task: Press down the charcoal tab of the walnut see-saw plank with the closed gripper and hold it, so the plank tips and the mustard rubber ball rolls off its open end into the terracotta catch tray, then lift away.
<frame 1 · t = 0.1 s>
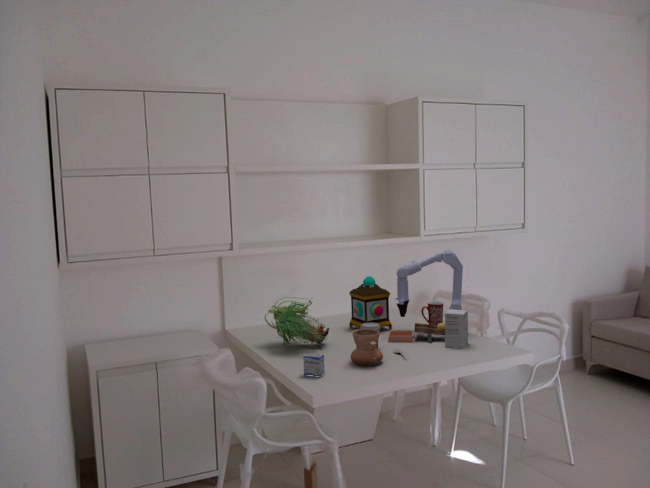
hand: (403, 315, 298), 10 cm above the table, tool pointing down, fingers open, 7 cm apart
mug: (432, 327, 312), on the table
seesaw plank: (430, 328, 288), point 5 cm above the table, hinge at -6.0°, touching ball
decorative lantern: (370, 329, 311), on the table
disposable coffee cup: (371, 349, 272), on the table
plant: (302, 349, 277), on the table
spoon: (403, 358, 257), on the table
supplement box: (456, 345, 273), on the table
ceramic jug: (366, 363, 250), on the table
seesaw stand: (429, 339, 286), on the table
catch tray: (401, 339, 288), on the table
ball: (441, 327, 284), point 6 cm above the table, tilted 6°, touching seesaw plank
medicine box: (314, 375, 235), on the table
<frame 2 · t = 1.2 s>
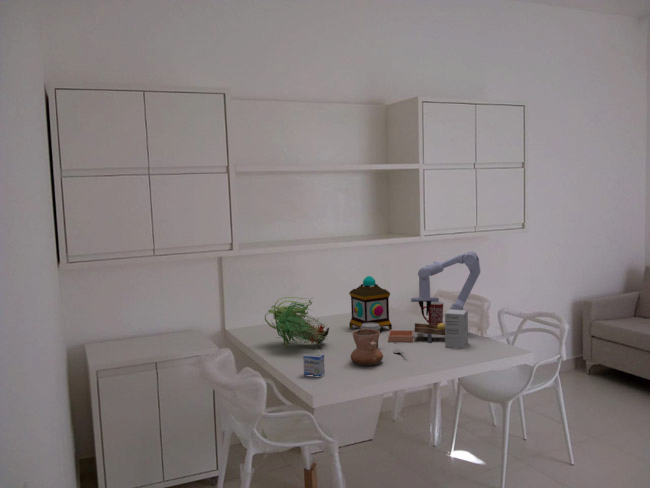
hand: (425, 315, 299), 9 cm above the table, tool pointing down, fingers closed
nothing on the table moved.
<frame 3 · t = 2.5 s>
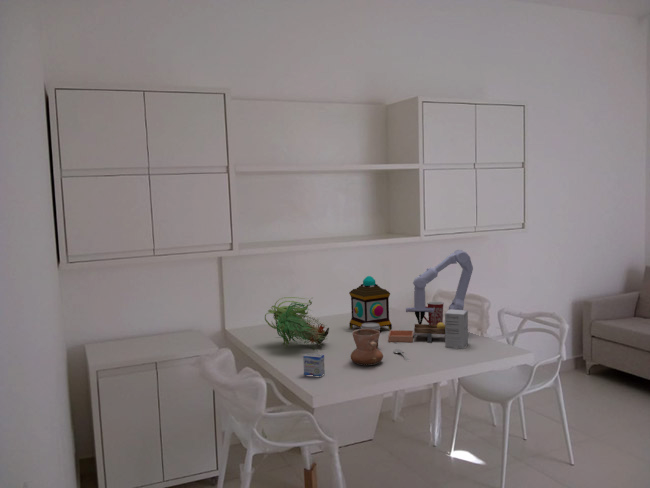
hand: (420, 325, 294), 5 cm above the table, tool pointing down, fingers closed, pressing on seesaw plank
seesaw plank: (430, 328, 288), point 5 cm above the table, hinge at -1.8°, touching ball, gripper
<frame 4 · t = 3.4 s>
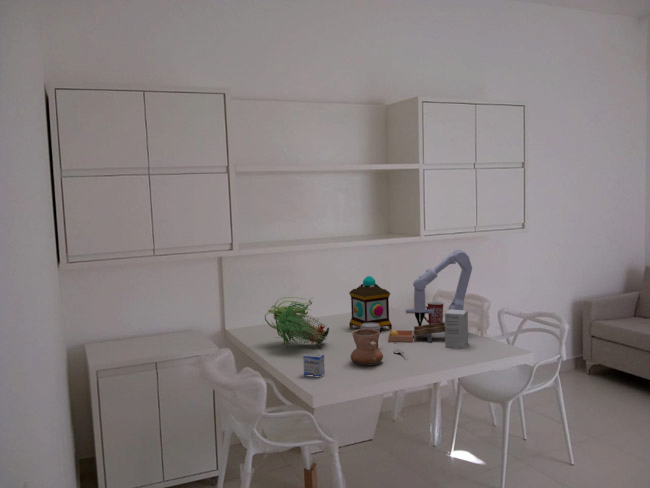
hand: (420, 327, 294), 4 cm above the table, tool pointing down, fingers closed, pressing on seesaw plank
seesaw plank: (429, 328, 288), point 5 cm above the table, hinge at 8.5°, touching gripper
ball: (394, 334, 289), point 2 cm above the table, tilted 33°, touching catch tray
everything else where it was.
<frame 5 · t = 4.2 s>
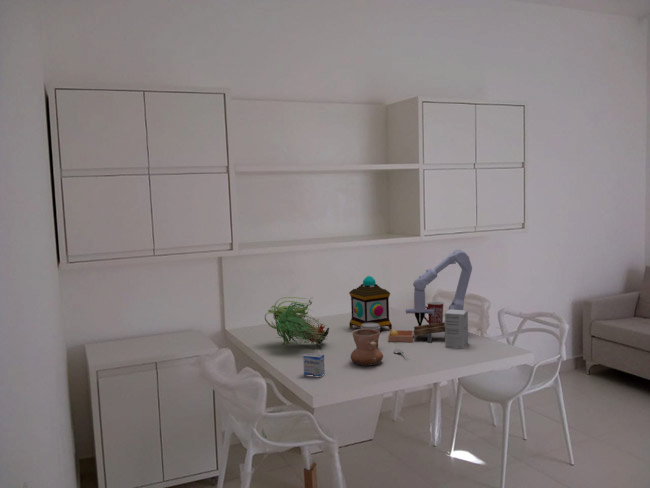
hand: (420, 327, 294), 4 cm above the table, tool pointing down, fingers closed, pressing on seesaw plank
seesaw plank: (429, 328, 288), point 5 cm above the table, hinge at 8.5°, touching gripper
everything else where it was.
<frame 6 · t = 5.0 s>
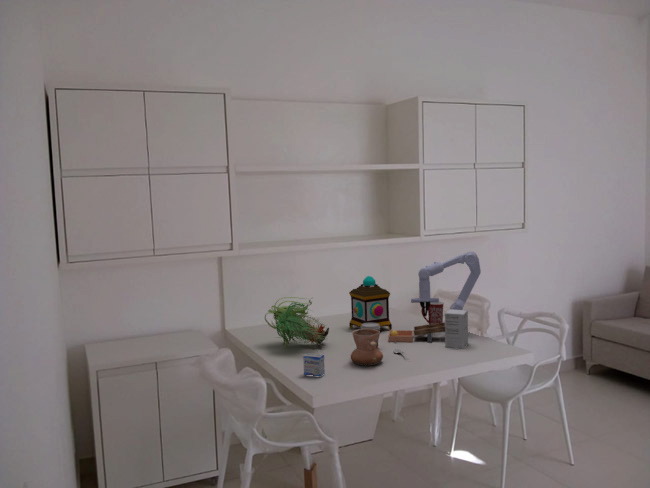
hand: (425, 315, 297), 9 cm above the table, tool pointing down, fingers closed
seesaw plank: (429, 328, 288), point 5 cm above the table, hinge at 8.5°
everything else where it was.
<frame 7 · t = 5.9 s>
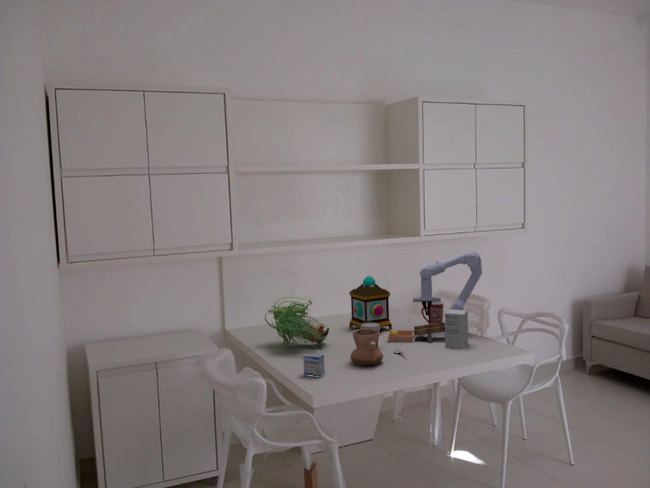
hand: (427, 315, 299), 9 cm above the table, tool pointing down, fingers closed
nothing on the table moved.
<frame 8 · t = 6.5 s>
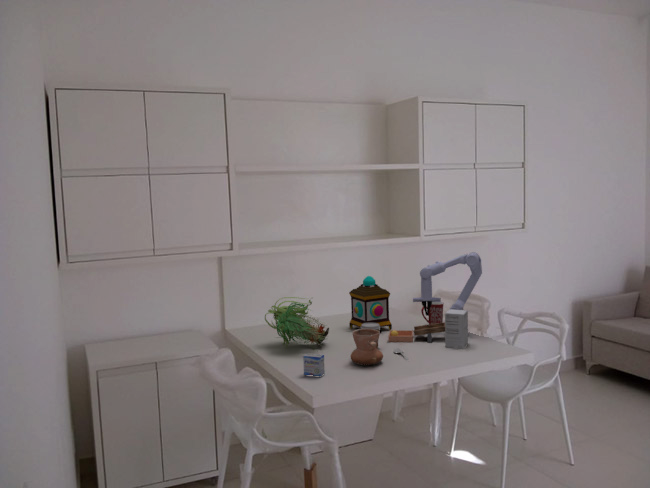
hand: (427, 315, 299), 9 cm above the table, tool pointing down, fingers closed
nothing on the table moved.
at the end: ball inside the target area on the catch tray (3.4 cm from its centre), point 2.5 cm above the catch tray's base; ball point 2.5 cm above the table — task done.
